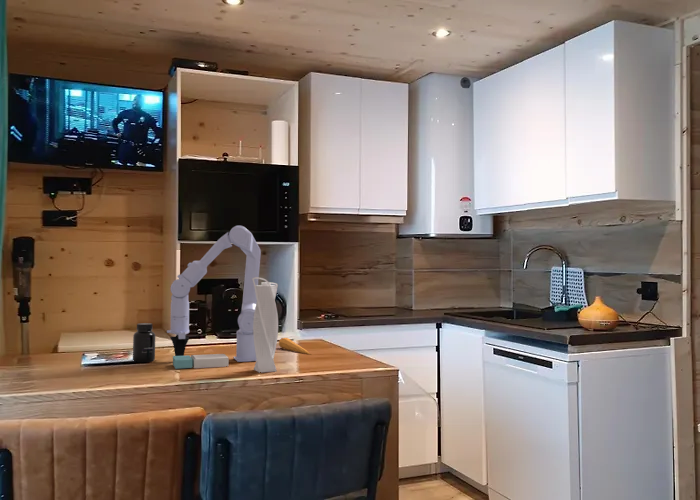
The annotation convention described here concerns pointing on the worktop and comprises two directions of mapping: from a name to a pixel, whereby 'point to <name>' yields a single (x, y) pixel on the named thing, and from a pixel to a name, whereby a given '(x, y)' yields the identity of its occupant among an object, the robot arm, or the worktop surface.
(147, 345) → the supplement bottle
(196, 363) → the gray rectangular block
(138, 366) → the worktop surface
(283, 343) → the carrot
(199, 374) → the worktop surface
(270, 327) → the skyscraper
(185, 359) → the stub
